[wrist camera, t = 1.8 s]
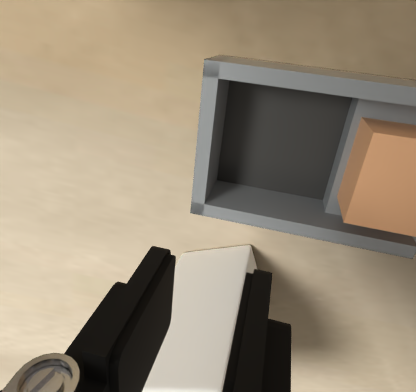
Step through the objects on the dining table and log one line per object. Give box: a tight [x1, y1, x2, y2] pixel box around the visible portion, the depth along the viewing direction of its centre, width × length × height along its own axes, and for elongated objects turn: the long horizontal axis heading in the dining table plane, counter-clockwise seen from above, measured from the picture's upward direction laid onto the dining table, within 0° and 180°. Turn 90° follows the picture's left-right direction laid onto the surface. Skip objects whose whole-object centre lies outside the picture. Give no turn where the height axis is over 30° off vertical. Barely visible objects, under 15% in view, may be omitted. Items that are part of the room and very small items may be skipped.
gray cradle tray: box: [190, 55, 416, 259], centre depth 24 cm, size 11×27×5 cm, turn 84°
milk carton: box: [142, 245, 258, 392], centre depth 26 cm, size 7×7×19 cm
